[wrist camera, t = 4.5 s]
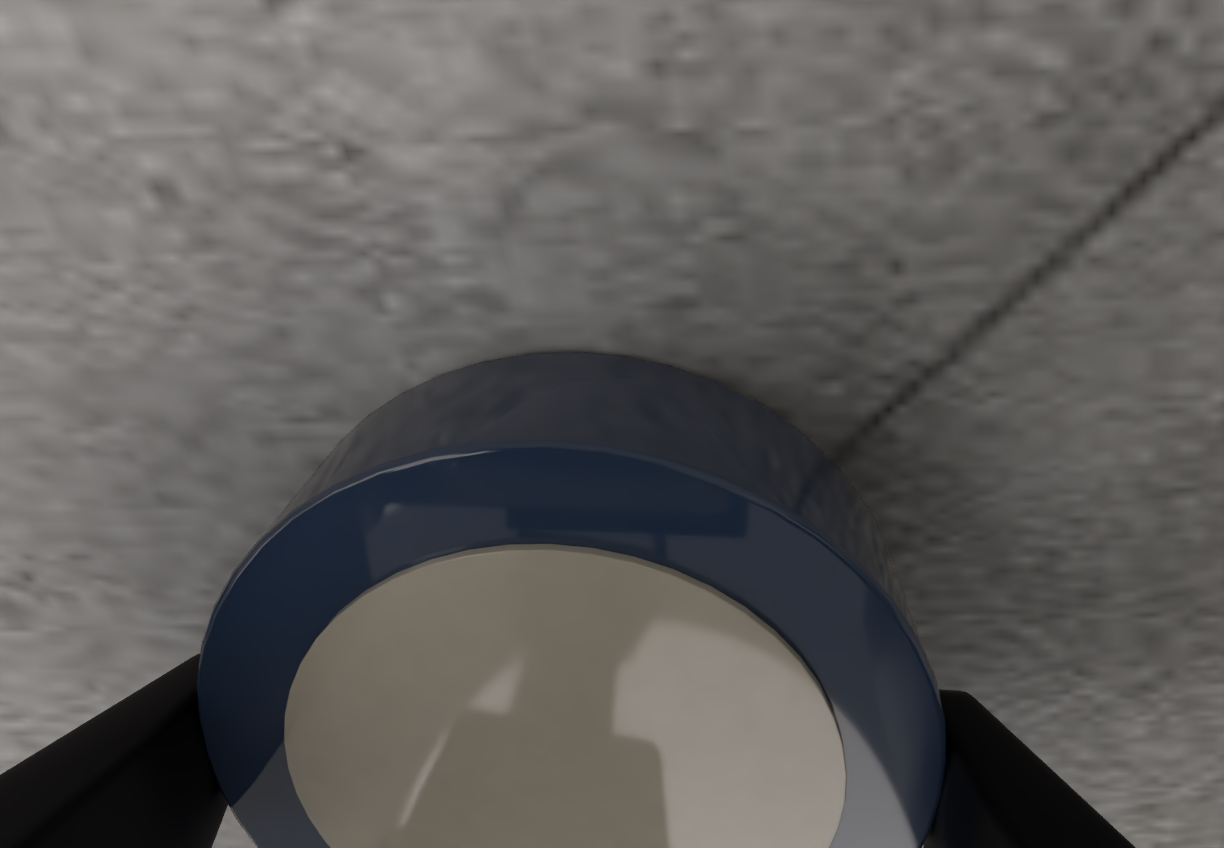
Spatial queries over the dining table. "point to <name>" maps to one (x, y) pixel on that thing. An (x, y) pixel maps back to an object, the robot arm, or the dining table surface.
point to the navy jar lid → (572, 631)
